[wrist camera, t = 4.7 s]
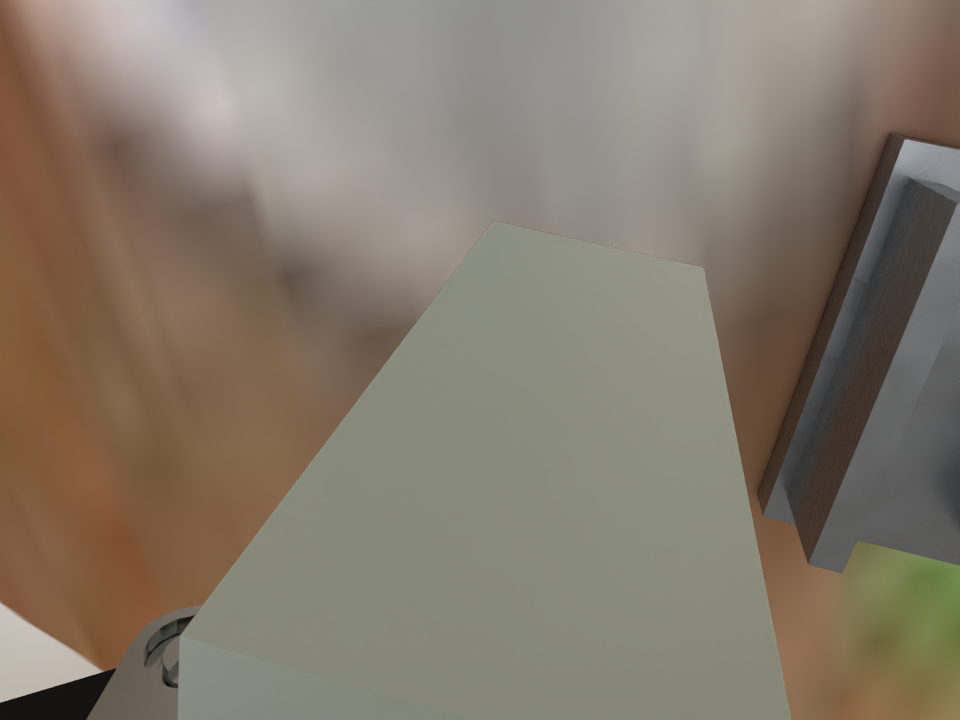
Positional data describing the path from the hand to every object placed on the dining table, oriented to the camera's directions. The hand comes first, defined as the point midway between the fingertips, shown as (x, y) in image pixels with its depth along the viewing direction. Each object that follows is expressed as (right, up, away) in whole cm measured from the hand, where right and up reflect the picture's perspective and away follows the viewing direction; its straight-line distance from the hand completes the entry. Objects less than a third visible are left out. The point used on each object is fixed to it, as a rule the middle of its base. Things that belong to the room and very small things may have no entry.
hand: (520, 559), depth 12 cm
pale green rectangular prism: (+1, +1, +3) cm, 3 cm away
